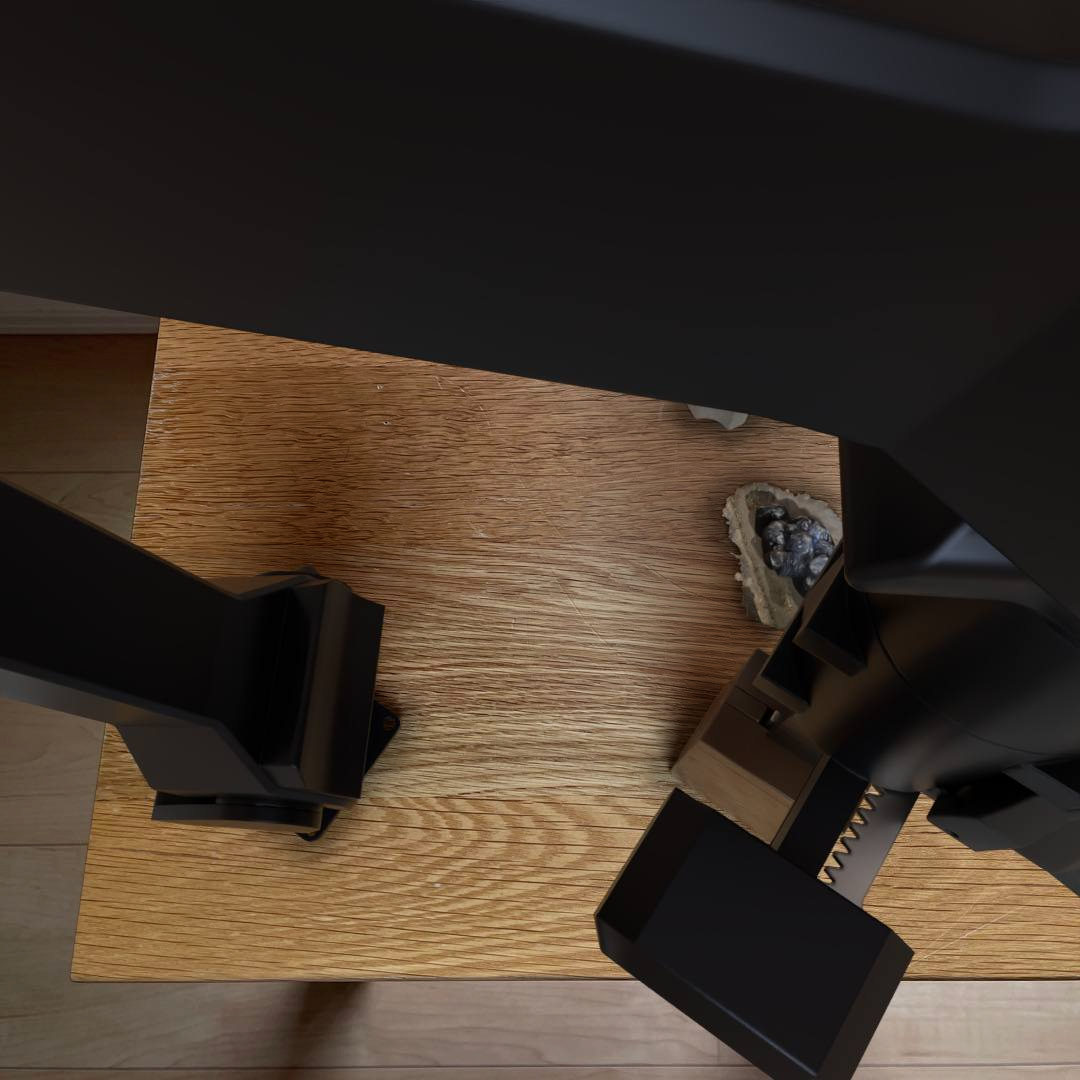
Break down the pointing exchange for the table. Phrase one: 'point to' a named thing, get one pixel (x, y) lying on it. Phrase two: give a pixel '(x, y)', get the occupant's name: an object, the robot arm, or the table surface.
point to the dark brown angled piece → (791, 735)
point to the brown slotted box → (744, 756)
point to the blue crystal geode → (779, 548)
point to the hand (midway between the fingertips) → (807, 731)
